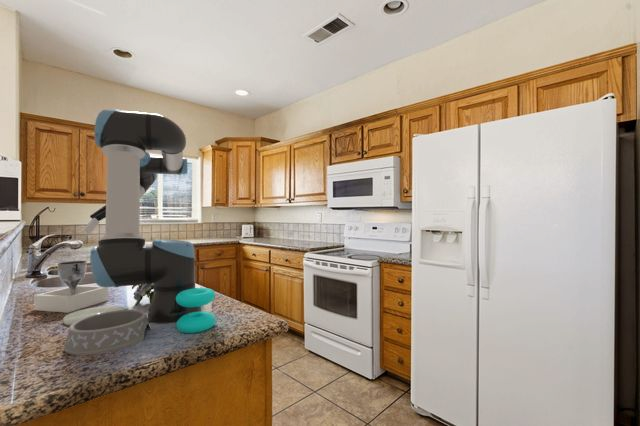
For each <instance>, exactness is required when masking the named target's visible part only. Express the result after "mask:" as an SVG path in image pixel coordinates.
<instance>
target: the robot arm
mask: <svg viewBox="0 0 640 426" xmlns="http://www.w3.org/2000/svg"><path fill="white" fill-rule="evenodd" d="M94 141H95V144H96V146H97V147H99V148H101V153H102V154H103V155H105V157H106V159H107V160H106V193H105V194H106V195H105V205H103V206H102V207H101V208H98V210H96V211H95V212H93V213H92V214H91V215H90V218H91V220H90V221H89V222H88V223H87V225H86V226H85V227H84V228H83V230H82V231H83V232H85V234H86V235H90V234H91V233H92V232H93V231H94V230H95V228H96V227H97V226H98V225H99V224H100V221H102V220H104V219H105V231H104V233H105V234H104V235H103V236H101V238H99V239H98V245H97V246H94V247H92V249H91V250H90V256H89V261H90V269H91V274H92V277H93V279H94V282H95V284H96V286H100V287H108V288H119V287H127V286H133V285H137V286H138V285H141V284H150V283H153V284H154V289H153V291H154V293H153V296H152V300H151V303H150V302H149V307H148V309H147V313H146V315H147V319H148V322H150V323H155V324H171V323H172V324H173V323H177V321H178V320H179V319H180V318H181V317H182V316H184V315H186V314H188V313H192V312H199V311H203V310H202V309H203V308H202V307H203V306H199V307H184V306H181V305H179V304H178V303H177V302H176V296H177V295H178V294H179V293H180V292H182V291H184V290H188V289H194V288H196V272H195V271H196V270H195V269H196V268H195V259H196V255H195V245H194V244H193V243H192V242H190V241H187V240H186V241H185V240H178V239H165V238H164V239H163V238H161V239H159V238H157V239H153V240H152V242H151V244H146V238H145V237H143V235H142V234H140V222H141V221H140V218H141V217H140V216H141V215H140V211H141V210H140V207H141V205H140V204H141V203H140V202H141V201H140V200H141V199H142V197H143V196H144V195H145V194H146V193H147V191H148V190H149V189H150V188H151V187H152V185H153V184H154V183H155V181H156V179H157V178H158V175H160V174H161V175H163V174H164V175H177V176H178V175H179V176H180V175H188V174H187V173H188V159H187V158H186V157H183V156H184V150H185V148H186V145H187V137H186V135H185V133H184V131H183V129H182V128H181V127H180V126H179V125H178V124H177V123H176V122H174V121H173V120H171V118H168V117H166V116H164V115H161V114H158V113H150V112H149V113H148V112H139V111H131V110H130V111H128V110H120V109H102V110H101V111H100V112H98V114H97V117H96V119H95V124H94ZM148 151H160V152H161V156H155V155H154V156H153V155H151V154H150V152H148Z"/></svg>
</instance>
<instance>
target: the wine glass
mask: <svg viewBox="0 0 640 426" xmlns="http://www.w3.org/2000/svg"><path fill="white" fill-rule="evenodd" d="M57 273H58V276H59V279H60V281H61V282H62V283H64V284H65V285H66V286H67V287H69V288H70V290H71V295H75V288H76V286H77V285H79V284H80V283H81V281H83V279H84V278H85V276H86V273H87V260H71V261H63V262H58V263H57Z"/></svg>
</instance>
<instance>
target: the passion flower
mask: <svg viewBox="0 0 640 426" xmlns="http://www.w3.org/2000/svg"><path fill="white" fill-rule="evenodd" d="M137 286H138V287H137ZM135 287H137V288H136V290H135V291H134V292H133V295H134V296H133V299H134V300H135V304H134V305H135V306H138V305H139V304H140V302H141V301H142V300H143V298H144V297H145V296H146V297H147V298H148V300H149V304H150V303H151V300H152V296H153V293H154V284H153V283H150V284H141V285H131V289H132V290H133V289H135ZM152 290H153V291H152Z"/></svg>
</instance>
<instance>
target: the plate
mask: <svg viewBox="0 0 640 426" xmlns="http://www.w3.org/2000/svg"><path fill="white" fill-rule="evenodd" d="M117 310H125V309H124V307H123V306H120V305H104V306H95V307H88V308H82V309H78V310H75V311H72V312H69V313H68V314H66V315H65V316H64V317H63V318H62V319H63V321H62V322H63V324H64V325H66V326H69V327H70V326H71V325H72V324H73V323H75V322H76V321H78V320H81V319H83V318H86V317H89V316H92V315H96V314H100V313H105V312H110V311H117Z"/></svg>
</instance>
